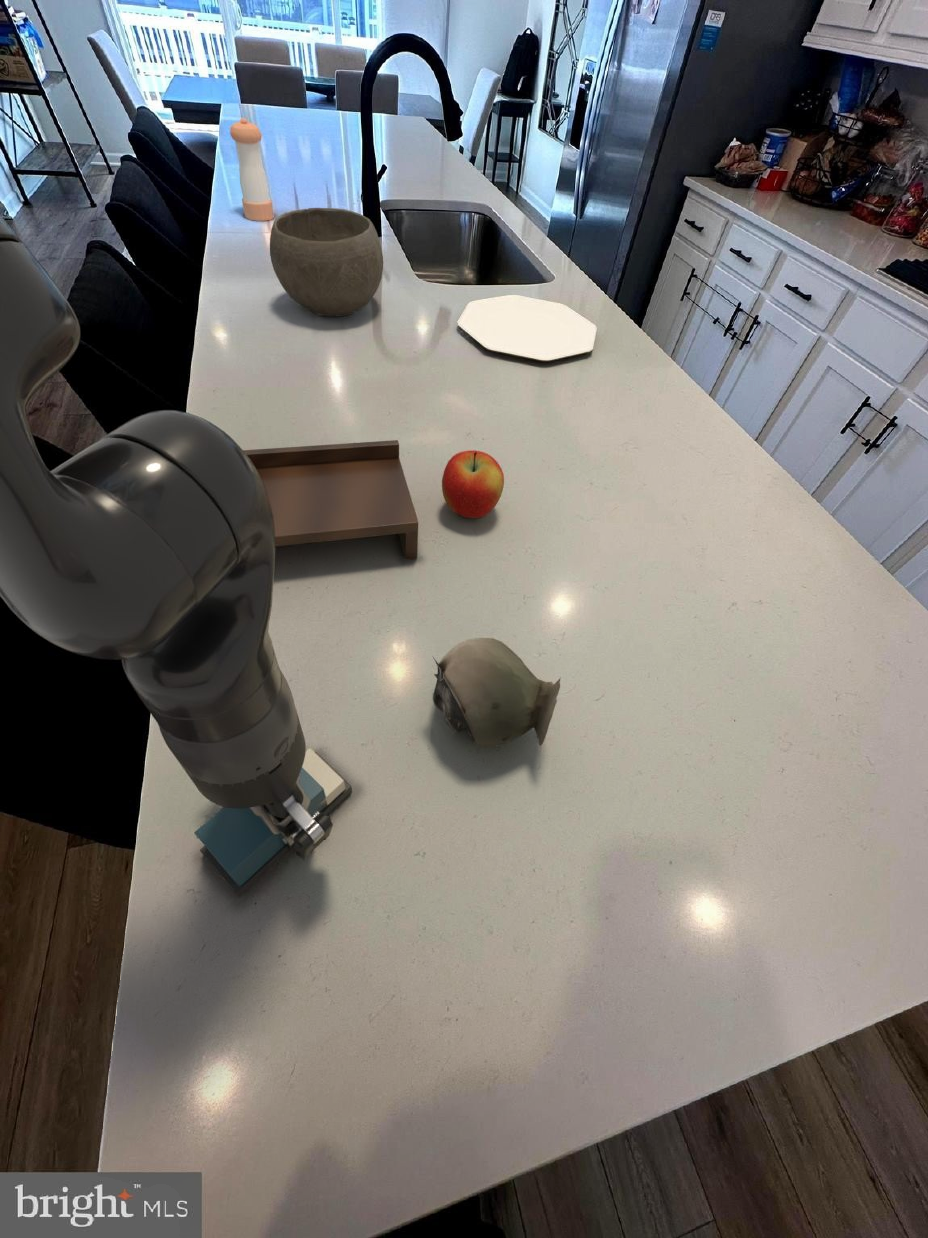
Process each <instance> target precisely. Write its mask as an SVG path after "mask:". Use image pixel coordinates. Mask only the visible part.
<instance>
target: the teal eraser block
mask: <svg viewBox="0 0 928 1238" xmlns="http://www.w3.org/2000/svg"><path fill="white" fill-rule="evenodd" d="M299 776H300V780H299V783H300V785H301V787H302V788H303V790H304V792H305V793H306V795H307V797H308V798H309V800H310V805H309V806H308V812H309V813H310V814H311V815H312V814H313V813H314V812H315V811H318V812H319V813H321V812H323V813H324V814H325V815H326V814H327V815H328V816H329V814H330V813H331V812H332V811H333V810H334V809H335V808H337V806H339V805H340V804H341V803H342V802H343V801H344V800H345V799H346V798H347V797H348V796H349V795H351V793H352V792H353V788H352V785H351V784H350V783H349V782H347V780H346V779H344V778H343V777H342V775H340V774H339V773H338V772H337V771H336V770H335V769H334V768H333V767H332V766H331V765H330V764H329V763H328V762H327V761H326V760H325V759H324V758H323V757H321V755H319V754H318V752H317V751H314V750H313V749H312V748H308V749H306V753H305V759H304V763H303V766H302V769H301V771H300V774H299ZM268 813H269V812H268ZM269 815H272V814H270V813H269ZM292 822H294V821H292ZM292 822H291V823H292ZM291 823H289V824H288V826H289V825H290V824H291ZM288 826H287V827H288ZM194 835H195V836H196V837H197V839H198V840H199V841H200V842H201V843H202V844H203V846H202V847H201V848H200V849H199V851H200V853H201V854H202V855H203V856H204V858H205V859H206V860H207V861H208V862H209V864H210V865H211V866H212V868H214V870H215V871H216V872H217V873H218V874H219V876H220V877H221V878H222V879H223V880H224V882H225V883H226V884H227V885H228V887H229V888H230V889H231V890H232V891H233V892H234V893H235V895H236V896H237V897H238V898H241V897H242V896H243V895H244V894H245V893H246V892H247V891H248V890H250V888H251V887H253V886H254V885H255V884H256V883H257V882H258V881H259V880H260V879H261V878H262V877H263V876H265V874H266V873H267V872H269V871H270V869H272V868H273V867H274V866H275V865H276V864H277V863H278V862H279V861H280V860H281V859H282V858H284V856H285V855H286V854H287V853H289V852H291V851H290V850H289V849H288V847H287V845H286V844H285V843H284V842H283V840H282V839H283V838H282V836H281V835H280V833H279V834H273V833H272V832H271V831H270V830H269V829H268V828H267V827H266V826H265V825H264V823H263V822H262V820H261V819H260V817H259V816H257V815H255V814H254V813H253V812H252V811H251V810H250V809H249V808H244V809H233V808H227V807H223V808H222V809H220V810H219V811H218V812H217V813H216V814H214V815H213V816H212V817H211V818H209V819H208V820H207V821H206V822H205V823H203V824H202V825H201V826H200V827H199V828H197V829H196V830H195V831H194Z"/></svg>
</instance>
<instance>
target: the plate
mask: <svg viewBox="0 0 928 1238" xmlns="http://www.w3.org/2000/svg"><path fill="white" fill-rule="evenodd" d="M456 324H457V327H458V328H460V330H462V331H463V332H464V333H466V334H467V335H468V336H469V337H470V338H472V339H473V340H474V341H475V342H476V343H477V344H479V345H480V346H481V347H482V348H484V350H487V351H489V352H493V353H497V354H502V355H507V356H512V357H516V358H521V359H527V360H531V361H537V362H541V363H544V362H545V363H547V362H548V363H549V362H555V361H558V360H563V359H567V358H571V357H576V356H580V355H584V354H589V353H591V352H592V351H594V347H595V346H594V345H595V340H596V335H597V331H598V328H597V326H596V325H595V323H593V322H592V321H590V320H589V319H587V318H586V317H584V316H582V315H581V314H579V313H578V312H576V311H575V310H574V309H572V308H570V307H569V306H567V305H566V304H563V303H559V302H555V301H549V300H544V299H540V298H534V297H528V296H524V295H518V294H508V295H507V294H506V295H501V296H495V297H489V298H483V299H476V300H472V301H470V302H467V304H466V306H465V307H464V310H463V312H462V313H461V315H460V317H459V318H458V319H457V322H456Z"/></svg>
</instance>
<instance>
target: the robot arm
mask: <svg viewBox="0 0 928 1238" xmlns="http://www.w3.org/2000/svg"><path fill="white" fill-rule="evenodd" d="M80 340H81V325H80V323H79V319H78V317H77V315H76V313H75V310H74V309H73V307H72V305H71V304H70V302H69V300H68V299H67V298H66V296H65V295H64V293H63V292H62V290H61V289H60V288H59V286H58V285H57V283H56V282H55V281H54V280H53V278H52V277H51V276H50V274H49V273H48V271H46V269H45V268H44V267H43V265H42V264H41V263H40V262H39V261H38V259H37V258H36V257H35V255H34V254H33V253H32V251H31V250H30V249H29V248H28V247H27V246H26V245H24V244H23V241H22V239H20V237H19V236H18V235H17V234H16V232H15V231H14V229H12V227H11V225H9V224H8V222H7V221H6V220H5V219H4V217H3V215H1V214H0V598H1V599H2V600H3V601H4V603H5V604H6V606H7V607H8V608H9V609H10V611H12V613H14V615H16V617H17V618H18V619H19V620H20V621H22V623H24V624H25V626H27V627H28V628H29V629H31V631H33V632H34V633H35V634H37V635H39V636H40V637H42V638H43V639H44V640H46V641H48V642H49V643H51V644H53V645H54V646H57V647H59V648H61V649H63V650H65V651H66V652H71V653H73V654H76V655H80V656H84V657H88V658H92V659H97V660H108V661H109V660H110V661H111V660H113V661H120V660H121V665H122V669H123V671H124V674H125V676H126V678H127V680H128V682H129V684H130V685H131V686H132V689H133V690H134V691H135V693H136V694H137V696H138V697H139V699H140V700H141V702H142V703H143V705H144V706H145V707H146V709H147V710H148V712H149V713H150V715H151V716H152V718H153V719H154V720H155V722H156V723H157V726H158V728H159V731H160V734H161V737H162V738H163V741H164V742H165V744H166V746H167V747H168V749H169V751H170V752H171V753H172V755H173V756H174V758H175V759H176V761H177V762H178V763H179V764H180V766H181V767H182V769H183V770H184V772H185V773H186V775H187V776H188V777H189V778H190V780H191V782H192V783H193V785H194V786H195V787H196V789H197V790H198V791H199V792H200V794H201V795H202V796H203V797H204V798H206V799H207V800H208V801H209V802H211V803H213V804H214V805H217V806H220V807H223V808H224V807H227V808H233V809H244V808H249V809H250V810H251V811H252V812H253V813H254V814H255V815H257V816H259V817H260V819H261V820H262V822H263V823H264V825H265V826H266V827H267V828H268V829H269V830H270V831H271V832H272V833H273V834H279V833H280V835H281V836H282V838H283V839H282V840H283V842H284V843H285V844H286V845H287V847H288V849H289V850H290V851H289V852H291V853H292V854H293V855H296V856H297V857H298V858H299V859H300V858H301V859H302V860H303V861H305V860H306V859H307V858H308V857H310V854H311V853H312V852H314V851H315V850H316V848H317V847H319V845H320V844H322V842H324V841H325V840H327V838H329V837H330V835H331V831H332V829H333V827H334V824H333V822H332V818H331V817H330V816H329V814H328V815H327V814H326V815H325V814H324V813H323V812H321V813H319V812H318V811H315V812H314V813H313V814H312V815H311V814H310V813H309V812H308V806H309V805H310V800H309V798H308V797H307V795H306V793H305V792H304V790H303V788H302V787H301V785H300V783H299V780H300V776H299V774H300V771H301V769H302V766H303V763H304V759H305V753H306V751H307V744H306V738H305V735H304V732H303V728H302V724H301V721H300V718H299V714H298V710H297V707H296V704H295V700H294V697H293V693H292V690H291V688H290V684H289V683H288V680H287V678H286V677H285V675H284V674H283V671H282V670H281V668H280V664H279V662H278V659H277V654H276V651H275V649H274V644H273V641H272V639H271V636H270V633H269V628H270V620H271V614H272V608H273V598H274V597H273V594H274V580H275V567H276V565H275V564H276V546H275V526H274V517H273V512H272V508H271V504H270V500H269V497H268V494H267V491H266V488H265V486H264V484H263V481H262V479H261V477H260V475H259V474H258V472H257V470H256V468H255V466H254V465H253V463H252V462H251V460H250V459H249V457H248V456H247V455H246V453H245V452H244V451H243V450H244V449H243V448H242V447H241V446H240V445H239V444H238V443H237V442H236V441H235V440H234V438H232V437H231V436H230V435H229V434H228V433H226V431H225V430H222V428H220V427H218V426H217V425H215V424H214V423H212V422H211V421H209V420H207V419H205V418H204V417H202V416H198V415H196V414H193V413H190V412H186V411H181V410H176V409H162V410H161V409H160V410H153V411H149V412H146V413H143V414H141V415H138V416H136V417H134V418H132V419H129V420H127V421H126V422H125V423H123V424H121V425H119V426H118V427H116V428H115V429H114V430H112V431H110V432H109V433H107V434H106V435H104V436H103V437H101V438H100V439H98V440H97V441H95V442H93V443H91V445H89V446H87V447H86V448H84V449H83V450H81V451H79V452H78V453H77V454H74V456H72V457H71V458H69V459H68V460H66V461H64V462H63V463H61V464H59V465H58V466H56V467H55V468H54V469H52V470H50V469H49V468H48V467H47V465H46V464H45V461H44V460H43V457H42V456H41V454H40V451H39V449H38V446H37V445H36V441H35V438H34V436H33V432H32V431H31V427H30V424H29V419H28V412H27V406H28V403H29V402H30V400H31V399H32V398H33V396H34V395H35V394H36V393H37V392H38V391H39V390H40V389H42V387H43V386H44V385H46V384H47V383H48V382H49V381H50V380H52V378H53V377H55V375H57V373H58V372H59V371H61V370H62V368H63V367H65V366H66V365H67V364H68V362H69V361H70V360H71V359H72V358H73V356H74V355H75V353H76V351H77V349H78V348H79V346H80V342H81V341H80ZM268 812H269V813H270V814H272V815H269V813H268ZM292 821H294V822H292ZM291 822H292V823H291ZM289 823H291V824H290V825H289V826H288V824H289ZM287 826H288V827H287Z"/></svg>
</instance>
